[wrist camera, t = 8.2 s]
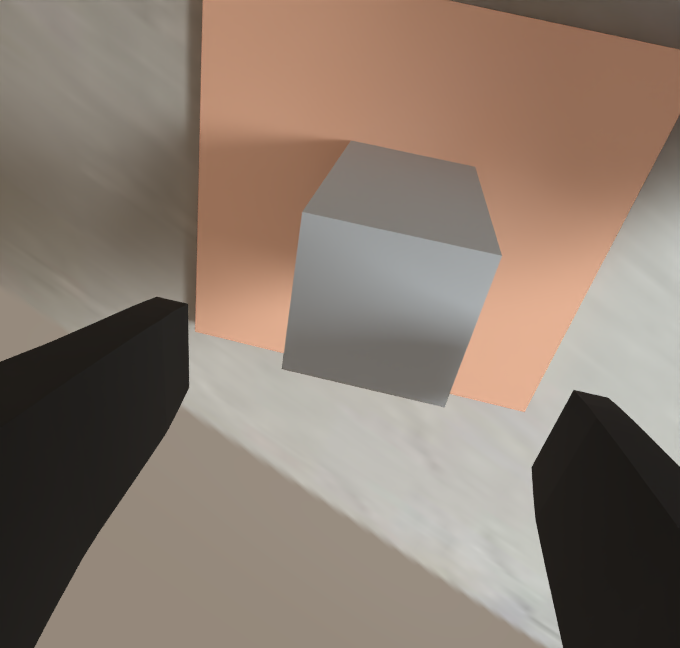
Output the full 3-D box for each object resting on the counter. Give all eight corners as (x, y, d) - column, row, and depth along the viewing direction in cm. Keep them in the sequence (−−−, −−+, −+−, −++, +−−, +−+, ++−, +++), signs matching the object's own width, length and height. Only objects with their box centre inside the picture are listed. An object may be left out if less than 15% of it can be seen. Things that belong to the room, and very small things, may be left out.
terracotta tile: (696, 54, 14) (710, 55, 13) (521, 399, 21) (524, 411, 20) (214, -49, 14) (203, -52, 14) (202, 321, 21) (195, 331, 21)
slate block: (475, 166, 15) (502, 256, 10) (439, 278, 18) (444, 407, 12) (351, 140, 16) (302, 211, 10) (331, 254, 18) (281, 369, 12)
